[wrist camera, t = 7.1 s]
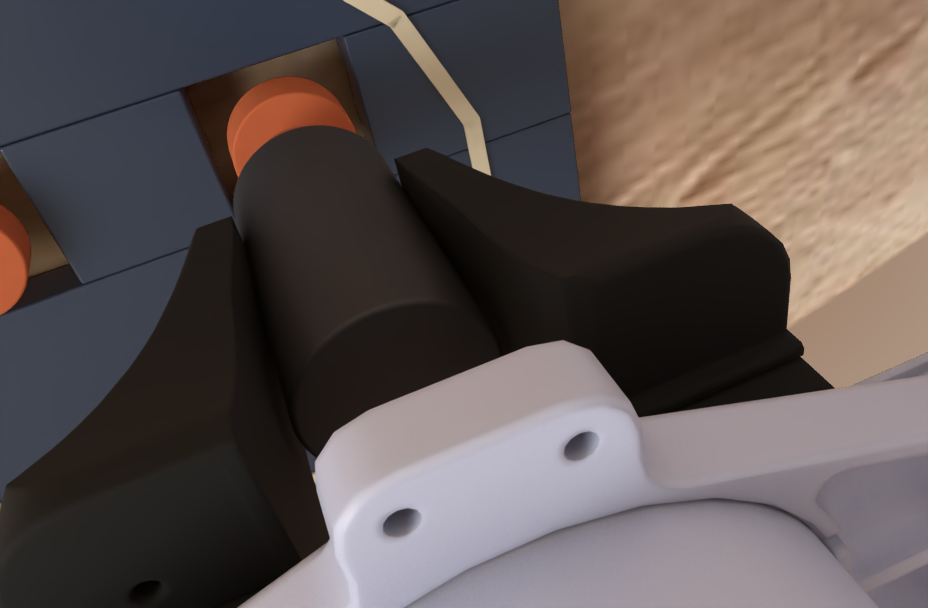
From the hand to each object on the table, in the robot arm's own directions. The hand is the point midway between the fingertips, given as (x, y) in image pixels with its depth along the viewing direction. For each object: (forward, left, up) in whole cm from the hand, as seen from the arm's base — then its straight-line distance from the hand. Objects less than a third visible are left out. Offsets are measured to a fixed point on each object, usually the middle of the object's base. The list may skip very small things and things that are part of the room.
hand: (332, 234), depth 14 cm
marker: (0, 0, -3) cm, 3 cm away
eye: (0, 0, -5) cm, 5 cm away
